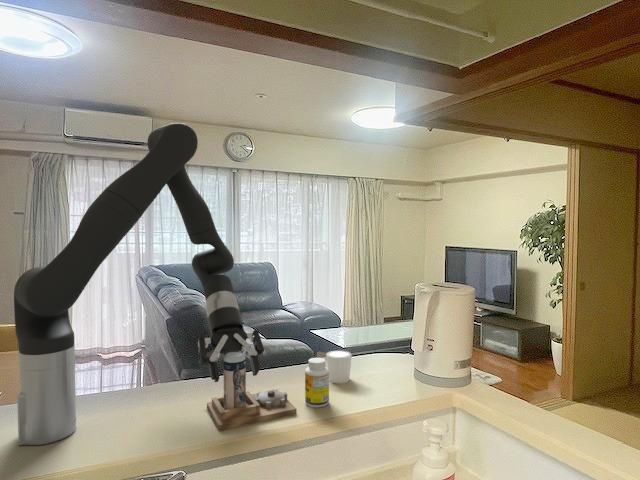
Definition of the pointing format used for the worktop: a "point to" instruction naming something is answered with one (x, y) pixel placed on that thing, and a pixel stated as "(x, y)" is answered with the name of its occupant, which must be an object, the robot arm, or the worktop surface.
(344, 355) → the white cup
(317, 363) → the supplement bottle
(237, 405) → the beer can
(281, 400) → the gear board
